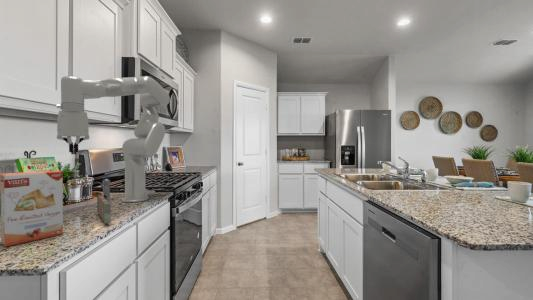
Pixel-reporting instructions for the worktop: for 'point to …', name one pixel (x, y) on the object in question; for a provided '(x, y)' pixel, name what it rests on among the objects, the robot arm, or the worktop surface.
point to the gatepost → (106, 189)
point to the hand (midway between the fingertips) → (73, 154)
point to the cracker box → (31, 206)
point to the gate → (104, 208)
